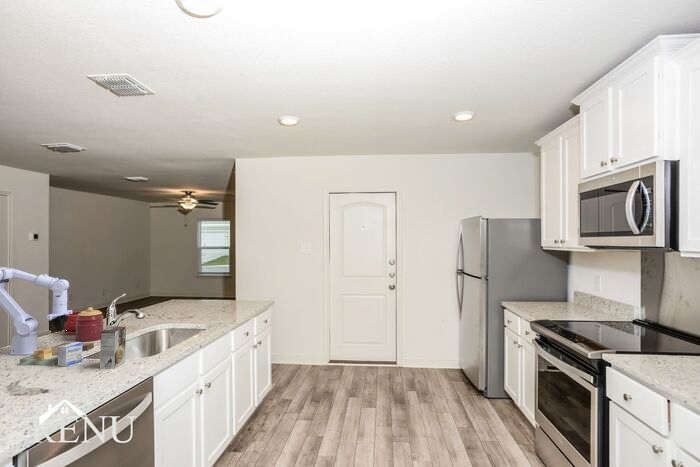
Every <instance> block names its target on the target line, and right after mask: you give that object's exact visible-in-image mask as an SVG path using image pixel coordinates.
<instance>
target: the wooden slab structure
mask: <svg viewBox="0 0 700 467" xmlns="http://www.w3.org/2000/svg"><path fill="white" fill-rule="evenodd" d="M70 343H71V342H62V343H60V344H56V345H53V346H52V347H51V348H52V356H50V357H47V358H45V359H34V353H32V354H29V355H26V356H24V357H22V358H19V366H55V365H58V347H59V346H63V345H66V344H70ZM94 344H95V343H94V342H82V352H88V351H89V350H92V349H94V346H95V345H94Z"/></svg>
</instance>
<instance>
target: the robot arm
mask: <svg viewBox="0 0 700 467" xmlns="http://www.w3.org/2000/svg"><path fill="white" fill-rule="evenodd" d="M13 278H14V279H19V280H22V281H27V282H33V283H34V285H35V286H36V287H39V288H40V287H41V288H44V289H48V290H51V291H52V313H50V314H47V315H46V321H47V320H48V321H49V320H50V321H51V322H52V323H53V324H54V327H55V328H54V329H55V331H56V333H57V332H58V333H59V332H64V329H65V327H64V325H65V322H66V321H67V319H68V316H66V315H68V314H72V312H73V309H68V289H69V287H70V282H69V281H68V280H66V279H64V278H61V279H59V277H53V276H49V275H48V274H47V273H44V274H40V275H37V274H33V273H30V272H29V273H28V272H26V271H23V270H19V269H17V268H13V267H7V266H1V267H0V307H1V308H2V310H4V311H5V313H6V314H7V315H8V316H9V317H10V319H12V321H13V322H12V326H13V327H14V328H15V333H17V334H15V335H13V336H12V338H11V341H10V353H8V354H9V355H11V356H12V355H13V356H14V355H16V356H17V355H18V356H20V355H23V356H25V355H26V356H30V355H33V354H34V351H35V350H38V349H39V348H38V333H39V332H38V329H39V328H40V326H41V322H40V321H39V320H38V319H36V318H34V317H33V316H32V315H30V314H28V313H27V312H25V310H23V308H22V307H21V306H20V305H19V303H18V302H17V301H16V300H15V299H14V298H13V297H12V296H11V294H9V292H8V291H7V290H6V289H5V286H6V283H7V282H8V281H9V280H10V279H13Z"/></svg>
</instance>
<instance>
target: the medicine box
mask: <svg viewBox="0 0 700 467" xmlns="http://www.w3.org/2000/svg"><path fill="white" fill-rule="evenodd" d="M69 343H70V344H66V345H63V346H59V347H58V364H57V366H58V367H69V366H72V365H75V364H78V363H81V362H83V351H82V343H83V342H78V341H73V342H69Z"/></svg>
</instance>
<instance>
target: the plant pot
mask: <svg viewBox="0 0 700 467" xmlns="http://www.w3.org/2000/svg"><path fill="white" fill-rule="evenodd" d="M82 311H83V310H81V311H72V314H68V315H66V316H68V319H67V321H66V322H65V325H64V329H65V330H64V329H63V333H64V334H65V335H67V336H68V335H69V336H72V335H73V336H75V335H76V326H75V325H76V323H77V321H76V320H75V319H76V318H78V314H79V313H81V312H82ZM66 330H67V331H66Z"/></svg>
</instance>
